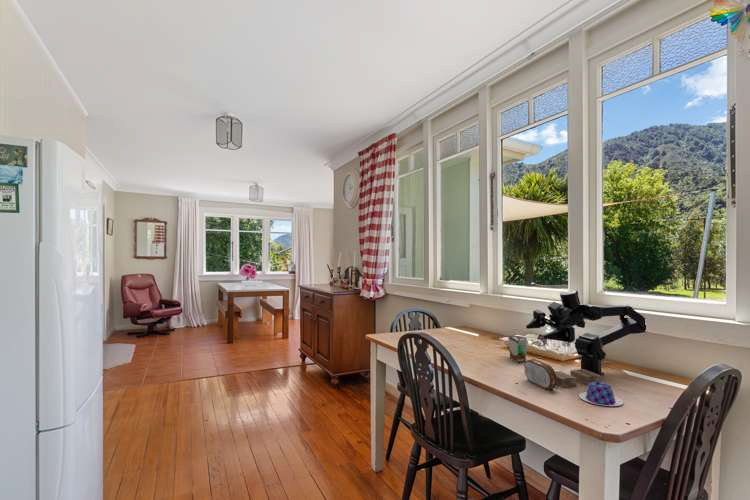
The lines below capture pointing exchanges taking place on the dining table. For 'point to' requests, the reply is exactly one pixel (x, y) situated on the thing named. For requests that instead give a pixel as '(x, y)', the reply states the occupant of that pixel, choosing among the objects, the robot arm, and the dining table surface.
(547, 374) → the tin
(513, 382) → the dining table surface
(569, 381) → the slotted rail
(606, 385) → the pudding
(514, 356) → the food container
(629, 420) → the dining table surface
